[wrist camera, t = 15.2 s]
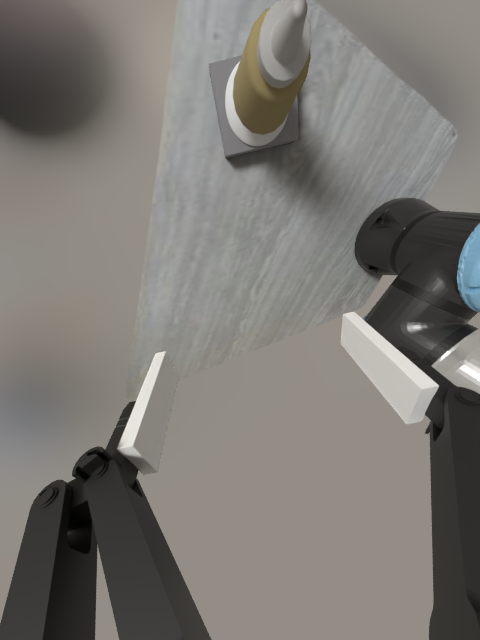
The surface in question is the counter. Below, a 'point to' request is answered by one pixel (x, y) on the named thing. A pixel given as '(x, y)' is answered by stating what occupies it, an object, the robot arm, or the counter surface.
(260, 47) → the squeeze bottle
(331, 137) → the counter surface
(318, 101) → the counter surface
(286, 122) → the white dome on base
